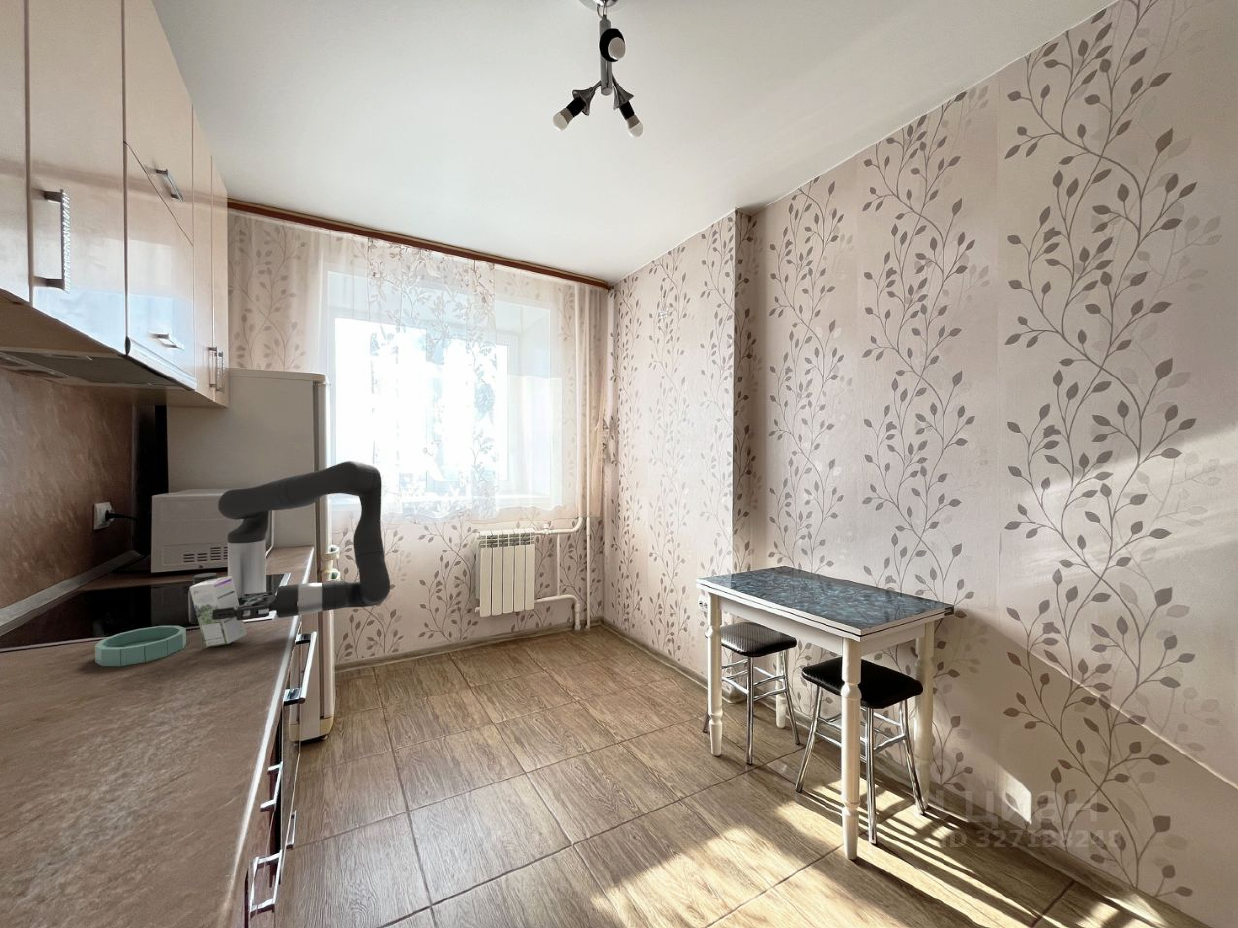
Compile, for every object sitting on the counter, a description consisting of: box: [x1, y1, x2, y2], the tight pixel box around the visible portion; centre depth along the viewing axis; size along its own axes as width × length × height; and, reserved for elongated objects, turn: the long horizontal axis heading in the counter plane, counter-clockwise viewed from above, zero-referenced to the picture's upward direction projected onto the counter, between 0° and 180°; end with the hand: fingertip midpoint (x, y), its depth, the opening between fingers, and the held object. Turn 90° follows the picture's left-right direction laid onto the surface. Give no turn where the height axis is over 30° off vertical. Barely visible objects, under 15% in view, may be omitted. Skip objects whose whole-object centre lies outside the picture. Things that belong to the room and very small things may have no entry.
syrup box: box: [189, 575, 247, 648], centre depth 115 cm, size 6×6×14 cm
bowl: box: [94, 625, 187, 667], centre depth 110 cm, size 14×14×4 cm
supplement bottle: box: [188, 572, 218, 625], centre depth 131 cm, size 7×7×12 cm
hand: (215, 609), depth 114 cm, fingers closed on syrup box, 8 cm apart
